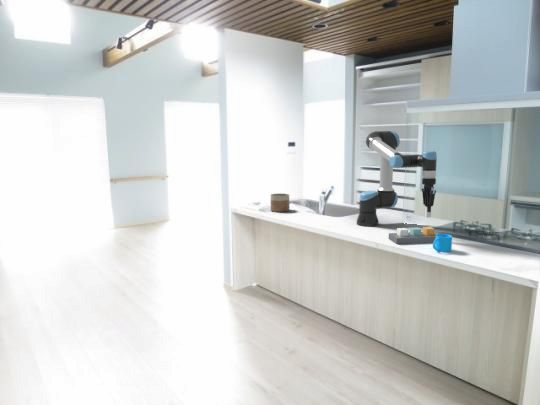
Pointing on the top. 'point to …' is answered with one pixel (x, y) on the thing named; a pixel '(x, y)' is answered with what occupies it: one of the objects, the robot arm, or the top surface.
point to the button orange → (428, 231)
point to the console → (412, 238)
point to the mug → (443, 243)
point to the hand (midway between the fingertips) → (427, 217)
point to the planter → (280, 202)
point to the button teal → (415, 231)
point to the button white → (402, 232)
